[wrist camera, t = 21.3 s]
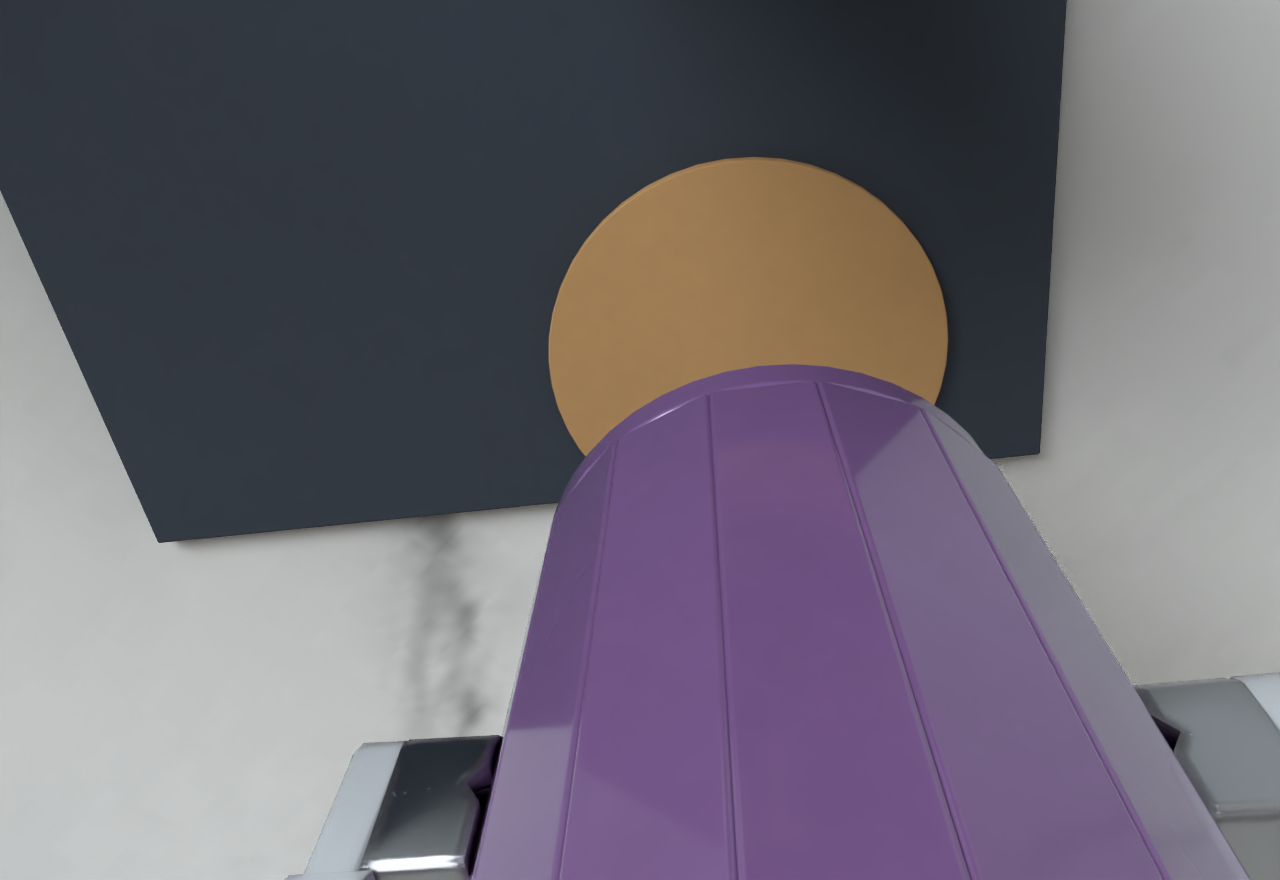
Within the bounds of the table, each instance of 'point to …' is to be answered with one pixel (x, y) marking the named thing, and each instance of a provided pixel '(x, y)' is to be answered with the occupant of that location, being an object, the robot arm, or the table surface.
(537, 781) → the purple cup
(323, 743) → the table surface
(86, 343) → the placemat
